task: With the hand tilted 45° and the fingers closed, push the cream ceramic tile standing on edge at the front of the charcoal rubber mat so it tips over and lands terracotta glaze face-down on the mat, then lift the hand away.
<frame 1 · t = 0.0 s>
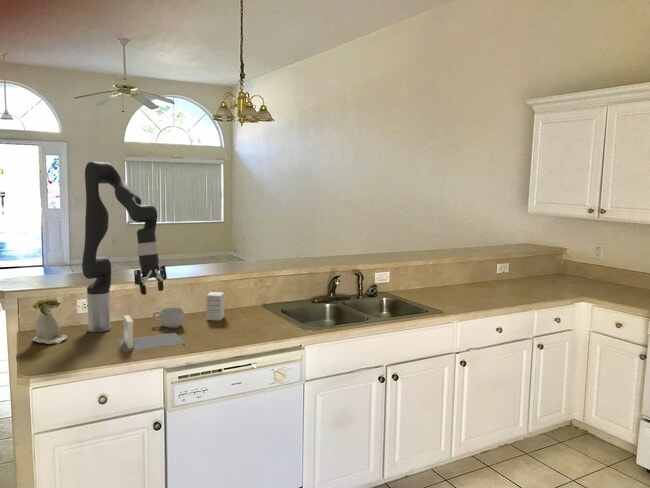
hand: (152, 292, 209), 22 cm above the worktop, tool pointing down, fingers open, 8 cm apart
tile: (128, 344, 210), point 1 cm above the worktop, touching mat
potted leafy plant: (50, 341, 214), on the worktop
mat: (151, 343, 214), on the worktop
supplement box: (215, 318, 255), on the worktop
teacup: (168, 327, 238), on the worktop
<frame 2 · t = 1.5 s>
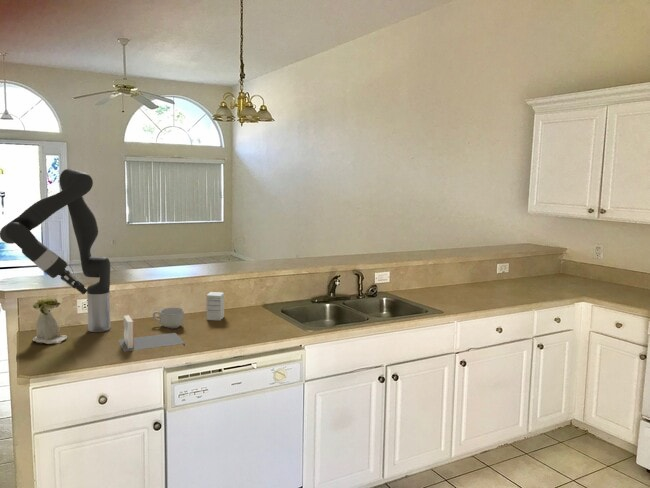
hand: (84, 290, 200), 25 cm above the worktop, tool tilted 45°, fingers open, 8 cm apart
nothing on the worktop moved.
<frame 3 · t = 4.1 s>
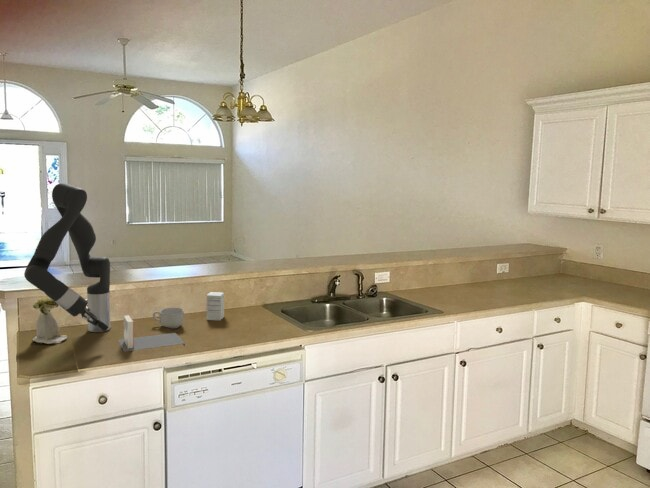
hand: (106, 328, 205), 9 cm above the worktop, tool tilted 45°, fingers closed
nothing on the worktop moved.
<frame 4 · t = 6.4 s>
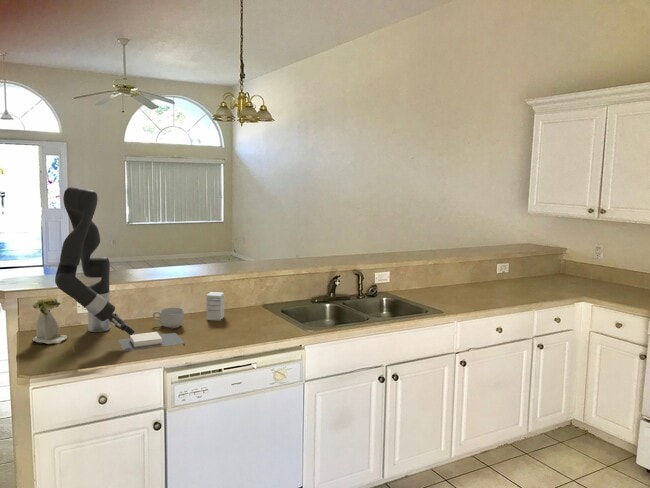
hand: (132, 333, 210), 5 cm above the worktop, tool tilted 45°, fingers closed
tile: (132, 340, 210), point 2 cm above the worktop, tilted 90°, touching mat
everything else where it was.
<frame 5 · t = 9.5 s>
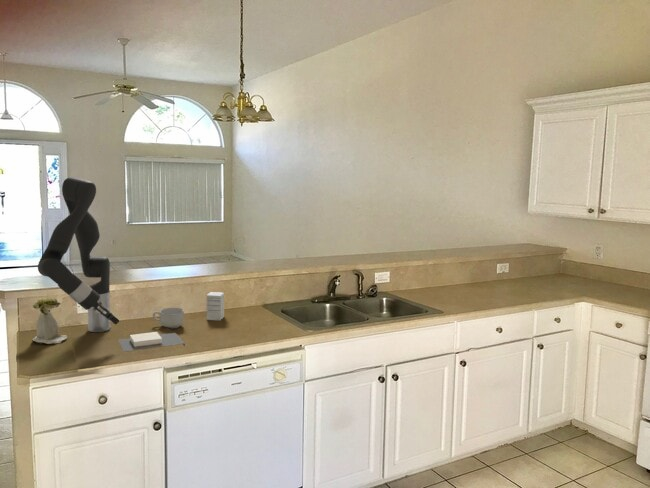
hand: (117, 322, 207), 11 cm above the worktop, tool tilted 45°, fingers closed
nothing on the worktop moved.
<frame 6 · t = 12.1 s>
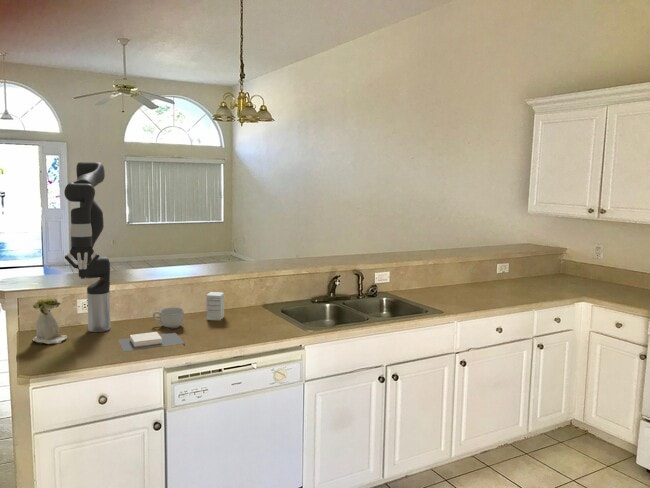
hand: (82, 278, 202), 29 cm above the worktop, tool pointing down, fingers closed
nothing on the worktop moved.
at the end: tile tilted 90°; tile inside the target area (5.7 cm from its centre), point 2.2 cm above the worktop; tile touching mat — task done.
